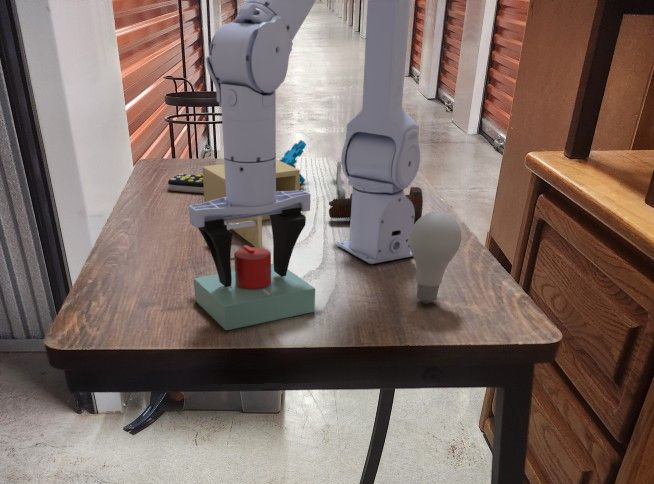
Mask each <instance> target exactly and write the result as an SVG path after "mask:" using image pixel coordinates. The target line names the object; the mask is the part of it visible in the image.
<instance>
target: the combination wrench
mask: <svg viewBox="0 0 654 484" xmlns="http://www.w3.org/2000/svg"><path fill="white" fill-rule="evenodd" d="M341 173H342V164H341V161H339V160H338V161H337V163H336V180H335V182H336V192H337V199H338V198H339V199H340V198H341V199H342V198H346V189H345V188H343V185H342V175H341Z"/></svg>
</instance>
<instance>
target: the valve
mask: <svg viewBox="0 0 654 484" xmlns="http://www.w3.org/2000/svg"><path fill="white" fill-rule="evenodd" d="M233 257H234V271H235V282H236V285H237V286H239V287H241V288H245V289H260V288H264V287H267V286H269V285H270V284H271V264H272V253H271V251H270V250H268V249H266V248H263V247H262V248H257V247H255V246H251V247H250V246H249V245H247V244H246V245H245V244H244V245H242V248H240V249H237V250H236V251H235V252H234V253H233Z"/></svg>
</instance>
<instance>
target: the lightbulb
mask: <svg viewBox="0 0 654 484" xmlns="http://www.w3.org/2000/svg"><path fill="white" fill-rule="evenodd" d="M461 242H462V230H461V226H460V224H459V222H458V221H457V219H456V218H454V217H453V216H452V215H451V214H450V213H447V212H445V211H439V210H437V211H435V210H434V211H430V212H427V213H425V214H423V215H422V216H421V217H420V218H419V219H418V220H417V221H416V223H415V224H414V225H413V227H412V230H411V233H410V236H409V245H410V249H411V252H412V255H413V256H412V258H413V260H414V263H415V267H416V269H415V270H416V277H415V278H416V280H415V281H416V282H417V287H416V288H417V289H416V298H417V299H418V300H419V301H421V303H423V304H430V303H431V302H434V301H436V300H437V298H438V293H439V288H440V285H441V284H442V282H443V278H444V274H445V271H446V269H447V267H448V266H449V263H450V262H451V261H452V260H453V259H454V257H455V256H456V254H457V253H458V251H459V249H460V246H461V244H462V243H461Z"/></svg>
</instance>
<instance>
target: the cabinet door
mask: <svg viewBox="0 0 654 484" xmlns="http://www.w3.org/2000/svg"><path fill="white" fill-rule="evenodd" d="M225 188H226V186H225ZM224 225H227V230H229V231H230V230H233V231H234V232H235V233H236V234H238V235H239V236H240V237H242V238H243V239H244V240H245V241H247V242H248V243H249V244H251V246H252V247H257V248H263V226H262V225H263V220H262V216H259V217H253V218H246V219H239V220H233V221H227V222H224Z"/></svg>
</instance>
